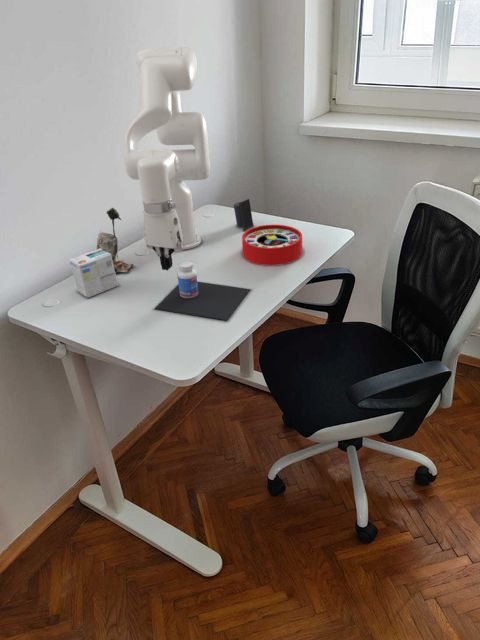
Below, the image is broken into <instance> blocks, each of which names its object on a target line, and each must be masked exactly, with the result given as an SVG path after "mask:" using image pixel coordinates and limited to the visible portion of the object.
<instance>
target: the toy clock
mask: <svg viewBox="0 0 480 640" xmlns="http://www.w3.org/2000/svg"><path fill="white" fill-rule="evenodd" d="M241 245H242V256H243V258H244V259H245V260H246V261H248V262H250V263H253V264H256V265H260V266H283V265H287V264H290V263H294V262H295V261H297V260H298V259H299V258H301V256H302V255H303V234H302V232H301V231H300V230H299V229H298V228H295V227H293V226H290V225H286V224H285V225H284V224H262V225H258V226H254V227H252V228H250V229H247V230H245V231H244V232H243V234H242V235H241Z"/></svg>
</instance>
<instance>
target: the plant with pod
mask: <svg viewBox="0 0 480 640" xmlns="http://www.w3.org/2000/svg"><path fill="white" fill-rule="evenodd" d="M106 214H107V216H108V218H109V219H110V220H111V222H112V223H111V224H112V233H113V234H112V233H107V232H104V231H100V232H99V233H98V236H97V240H96V250H97V249H99V248H101V249H102V250H104V251H106V252H108V253H110V254H111V256H112V261H113V265H114V270H115V274H116V273H127V272H128V271H129V269H131V268H132V267H133V266H134V264H133V263H126V262H125V261H124V260H119V255H118V247H119V246H118V237H117V236H116V233H115V220H117V219H118V220H120V221H122V218H121V217H120V213H119V212H118V211H117V209H116V208H114V207H111V208H109V209H108V210H106Z"/></svg>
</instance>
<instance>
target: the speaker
mask: <svg viewBox="0 0 480 640" xmlns="http://www.w3.org/2000/svg"><path fill="white" fill-rule="evenodd" d="M233 211H234V215H235V222H236V226H237V227H238V228H242V230H243V232H246V231H247V230H249V229H251V228H254V227H255V226H254V219H253V215H252V214H253V213H252V208H251V202H250V199H249V198H247V199H245V200H243V201H239V202H238V201H237V202H235V203H234V204H233Z"/></svg>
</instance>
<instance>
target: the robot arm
mask: <svg viewBox="0 0 480 640" xmlns="http://www.w3.org/2000/svg"><path fill="white" fill-rule="evenodd" d="M136 65H137V69H138V71H139V99H140V100H139V106H140V111H139V113H138V114H137V115H136V117H135V118H134V119H133V120H132V122H131V123H130V124H129V127H128V128H127V130H126V132H125V136H124V141H123V159H124V160H123V161H124V169H125V173H126V174H127V176H128V177H129V178H130V179H132V180H135V181H138V180H139V187H140V193H141V199H142V205H143V210H142V217H141V219H142V221H141V222H142V223H141V224H142V232H143V233H142V234H143V240H144V242H145V245H146V248H148V249H150V250H153V251H154V252H155V253H156V255H157V257H159V262H160V265H161V270H163V271H169V270H170V269H171V268H172V267H173V254H174V253H179V252H181V251H184V250H185V251H186V250H190V249H193V248H196V247H198V246H199V245H200V244H201V243H202V238H201V236H200V235H199V234H197V231H196V222H195V214H194V205H193V196H192V191H191V189H190V188H189V186H188V185H187V184H186V183H185V182H186V181H187V182H189V181H203V180H207V179H208V178H209V177H210V175H211V156H210V145H209V144H210V143H209V133H208V126H207V125H208V124H207V121H206V118H205V116H204V114H203V113H201V112H198V111H183V110H182V101H181V100H182V99H181V94H180V92H181V91H183V92H185V91H190V90H192V88H193V87H194V84H195V81H196V77H197V74H198V59H197V55H196V53H195V51H194V50H193V49H192V48H191V47H189V46H188V47H187V46H179V47H154V48H153V47H152V48H145V49H142V50H140V51H139V52H138V53H137V54H136ZM155 130H156V134H157V139H158V141H159V143H160V144H162V145H164V146H193V147H194V148H192V149H191V148H190V149H187V148H186V149H184V148H183V149H166V148H164V149H138V150H137V147H138V145H139V143H140V141H141V140H142V139H143V138H144V137H145V136H146V135H148V134H150V133H151V132H153V131H155Z"/></svg>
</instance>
